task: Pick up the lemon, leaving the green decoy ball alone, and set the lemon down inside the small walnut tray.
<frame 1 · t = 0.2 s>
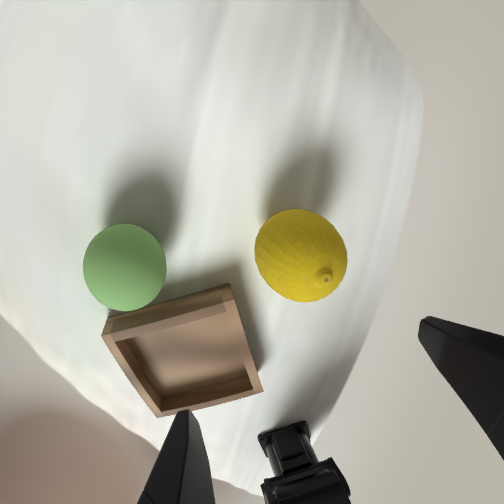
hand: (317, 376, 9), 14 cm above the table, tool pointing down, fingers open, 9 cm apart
green decoy ball: (131, 252, 20), on the table
lemon: (279, 233, 22), on the table
walnut tray: (187, 351, 24), on the table
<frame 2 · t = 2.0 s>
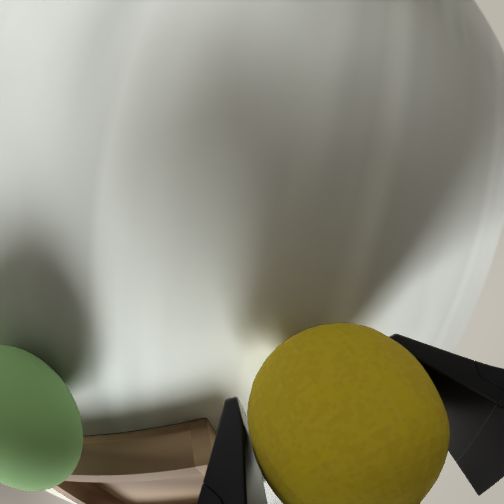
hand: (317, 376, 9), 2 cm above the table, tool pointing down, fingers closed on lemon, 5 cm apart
green decoy ball: (34, 371, 9), on the table
lemon: (297, 341, 11), on the table, touching gripper
walnut tray: (154, 476, 13), on the table
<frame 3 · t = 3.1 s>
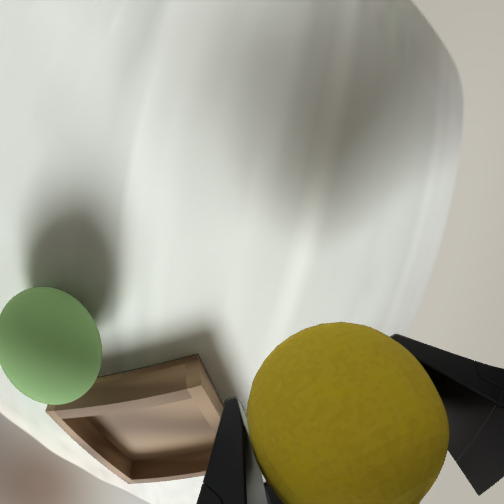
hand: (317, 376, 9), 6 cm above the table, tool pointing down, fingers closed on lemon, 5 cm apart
green decoy ball: (64, 314, 13), on the table
lemon: (297, 341, 11), point 4 cm above the table, touching gripper
walnut tray: (154, 422, 17), on the table
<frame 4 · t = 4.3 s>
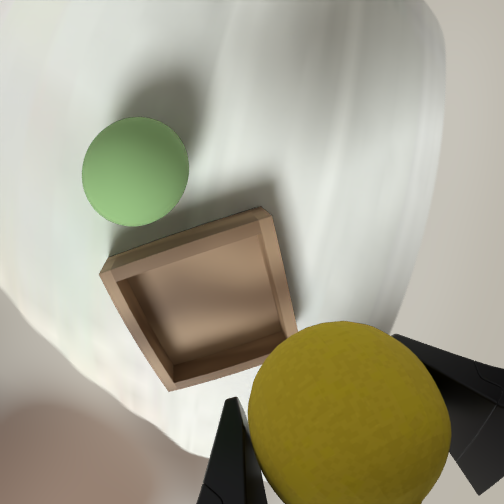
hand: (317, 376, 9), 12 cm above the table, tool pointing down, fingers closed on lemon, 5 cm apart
green decoy ball: (142, 166, 16), on the table
lemon: (298, 340, 11), point 10 cm above the table, touching gripper
walnut tray: (207, 300, 20), on the table
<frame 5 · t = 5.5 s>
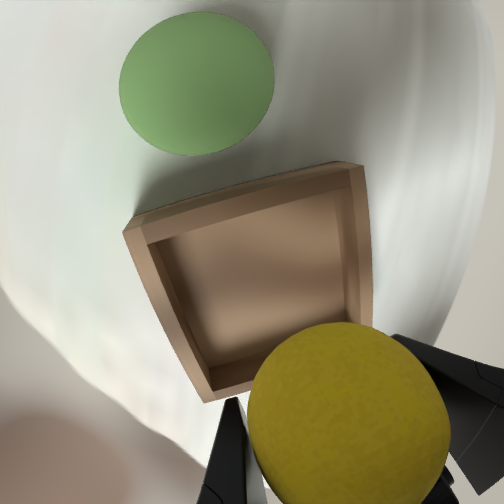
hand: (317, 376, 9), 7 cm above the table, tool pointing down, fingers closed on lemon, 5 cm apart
green decoy ball: (193, 94, 12), on the table
lemon: (297, 341, 11), point 5 cm above the table, touching gripper
walnut tray: (262, 280, 16), on the table
when the fingers open (4 cm above the table, at t = 6.9 s): lemon drops 2 cm, resting on walnut tray.
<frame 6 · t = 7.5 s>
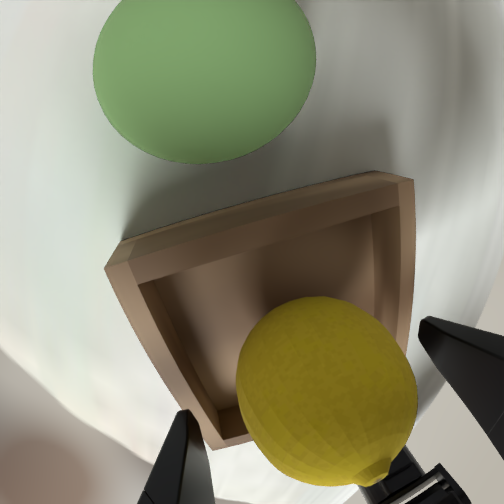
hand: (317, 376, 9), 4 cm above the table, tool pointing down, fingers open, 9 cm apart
green decoy ball: (198, 82, 9), on the table
lemon: (284, 319, 12), resting on walnut tray
walnut tray: (282, 315, 13), on the table
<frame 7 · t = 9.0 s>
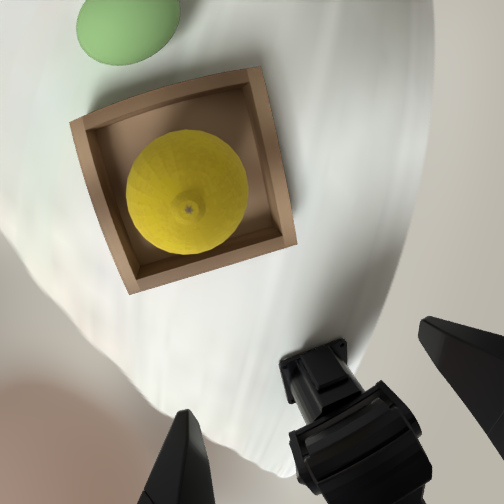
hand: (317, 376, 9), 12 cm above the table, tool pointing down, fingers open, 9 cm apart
green decoy ball: (134, 35, 13), on the table
lemon: (185, 177, 17), resting on walnut tray
walnut tray: (185, 176, 17), on the table
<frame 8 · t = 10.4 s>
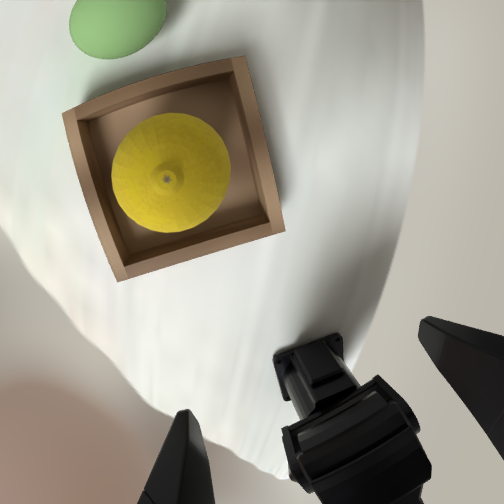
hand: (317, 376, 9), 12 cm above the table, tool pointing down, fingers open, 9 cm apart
green decoy ball: (125, 31, 13), on the table
lemon: (173, 165, 17), resting on walnut tray
walnut tray: (174, 165, 17), on the table
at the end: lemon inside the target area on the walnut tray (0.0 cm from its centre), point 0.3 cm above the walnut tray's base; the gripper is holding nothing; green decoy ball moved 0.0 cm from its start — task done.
